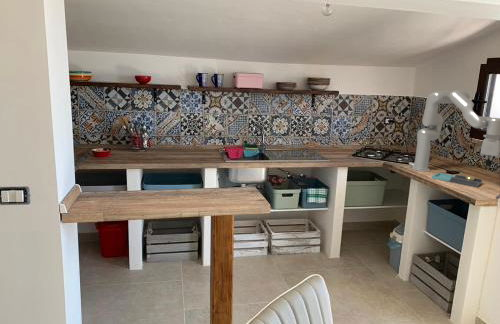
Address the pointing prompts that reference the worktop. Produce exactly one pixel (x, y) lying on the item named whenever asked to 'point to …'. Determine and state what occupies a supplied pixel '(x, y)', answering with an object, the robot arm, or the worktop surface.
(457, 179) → the slot plate
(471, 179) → the brass puck
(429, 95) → the robot arm
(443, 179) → the tray
